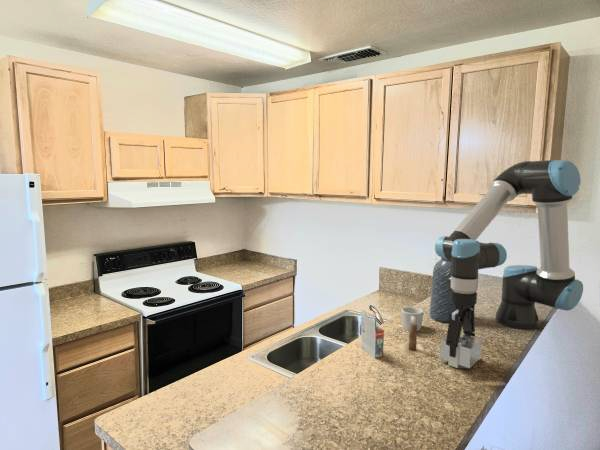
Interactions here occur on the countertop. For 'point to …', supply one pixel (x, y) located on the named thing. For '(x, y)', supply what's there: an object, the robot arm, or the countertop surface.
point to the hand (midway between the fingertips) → (459, 360)
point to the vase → (441, 291)
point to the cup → (412, 317)
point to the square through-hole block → (464, 351)
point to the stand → (412, 343)
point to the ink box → (371, 336)
